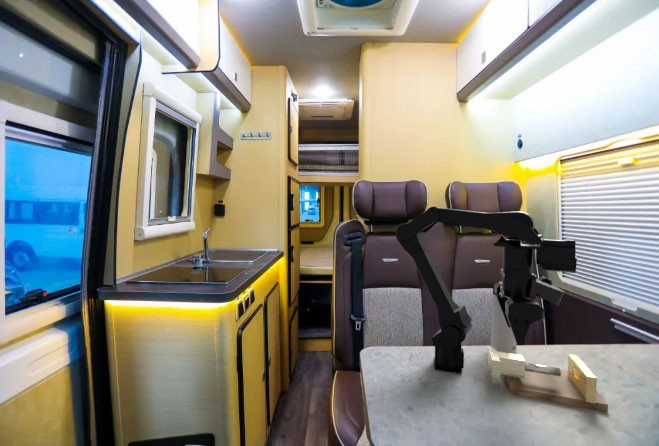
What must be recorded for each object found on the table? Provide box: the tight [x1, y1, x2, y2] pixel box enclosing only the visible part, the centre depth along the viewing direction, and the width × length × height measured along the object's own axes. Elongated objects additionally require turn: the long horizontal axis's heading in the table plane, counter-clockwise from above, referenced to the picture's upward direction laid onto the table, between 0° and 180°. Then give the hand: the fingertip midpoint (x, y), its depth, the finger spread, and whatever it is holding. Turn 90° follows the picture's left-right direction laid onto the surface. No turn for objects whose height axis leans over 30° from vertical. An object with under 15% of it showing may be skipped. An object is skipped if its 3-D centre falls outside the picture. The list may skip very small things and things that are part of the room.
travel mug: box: [490, 282, 518, 354], centre depth 85 cm, size 6×7×20 cm
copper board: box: [504, 369, 609, 413], centre depth 70 cm, size 17×12×2 cm
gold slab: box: [567, 354, 598, 403], centre depth 66 cm, size 2×10×5 cm, turn 160°
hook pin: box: [487, 346, 561, 379], centre depth 70 cm, size 14×7×4 cm, turn 70°
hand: (514, 335), depth 69 cm, fingers open, 9 cm apart
